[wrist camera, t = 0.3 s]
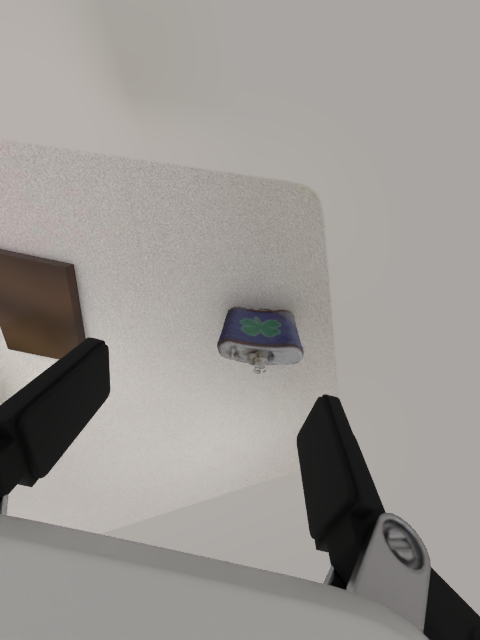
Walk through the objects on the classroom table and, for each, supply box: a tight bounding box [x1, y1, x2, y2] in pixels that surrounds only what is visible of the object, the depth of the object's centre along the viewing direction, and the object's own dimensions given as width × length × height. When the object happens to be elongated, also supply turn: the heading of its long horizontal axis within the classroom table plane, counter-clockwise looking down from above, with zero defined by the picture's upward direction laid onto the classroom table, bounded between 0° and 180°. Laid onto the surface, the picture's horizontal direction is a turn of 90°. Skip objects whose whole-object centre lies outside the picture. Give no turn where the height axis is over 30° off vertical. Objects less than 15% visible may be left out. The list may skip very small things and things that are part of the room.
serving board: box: [0, 249, 85, 359], centre depth 34 cm, size 16×12×2 cm
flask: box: [217, 307, 303, 374], centre depth 27 cm, size 9×3×11 cm, turn 87°
